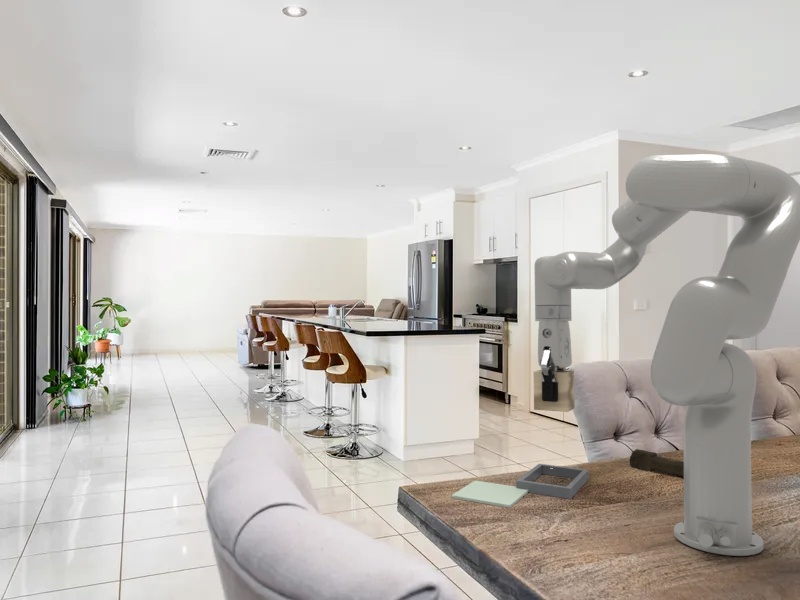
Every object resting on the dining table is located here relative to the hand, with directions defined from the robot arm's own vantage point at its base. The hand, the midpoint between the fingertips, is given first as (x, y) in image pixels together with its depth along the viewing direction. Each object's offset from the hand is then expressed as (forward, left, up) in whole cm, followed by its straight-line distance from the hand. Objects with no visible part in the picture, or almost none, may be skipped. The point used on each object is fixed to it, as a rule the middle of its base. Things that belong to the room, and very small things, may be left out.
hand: (554, 398), depth 125 cm
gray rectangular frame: (0, 0, -18) cm, 18 cm away
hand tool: (+21, -20, -19) cm, 35 cm away
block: (0, 0, -2) cm, 2 cm away
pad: (-13, +9, -18) cm, 24 cm away
